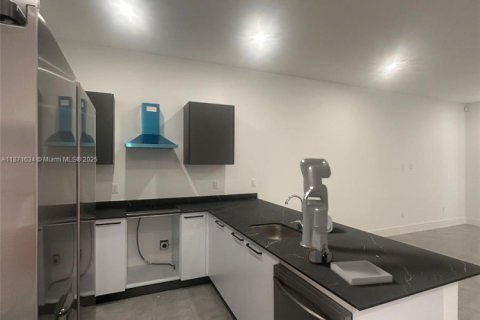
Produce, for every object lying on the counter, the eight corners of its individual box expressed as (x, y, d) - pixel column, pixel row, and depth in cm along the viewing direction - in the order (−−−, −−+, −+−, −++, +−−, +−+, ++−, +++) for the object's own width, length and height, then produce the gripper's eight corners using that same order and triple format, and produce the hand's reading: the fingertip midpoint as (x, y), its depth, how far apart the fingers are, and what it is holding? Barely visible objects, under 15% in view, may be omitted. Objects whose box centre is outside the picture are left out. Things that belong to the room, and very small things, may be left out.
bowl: (328, 227, 213) (329, 214, 213) (332, 233, 194) (332, 219, 194) (305, 225, 217) (305, 212, 217) (307, 231, 198) (307, 217, 198)
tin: (331, 261, 140) (331, 247, 140) (333, 263, 137) (334, 249, 137) (306, 261, 140) (306, 246, 140) (307, 263, 137) (308, 248, 137)
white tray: (330, 268, 131) (330, 262, 131) (366, 265, 135) (366, 260, 135) (351, 285, 113) (351, 278, 113) (392, 282, 117) (392, 275, 117)
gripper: (307, 225, 147) (306, 253, 147) (322, 234, 129) (321, 266, 129) (318, 225, 148) (318, 253, 148) (334, 233, 131) (334, 265, 131)
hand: (319, 259), depth 139 cm, fingers open, 9 cm apart
